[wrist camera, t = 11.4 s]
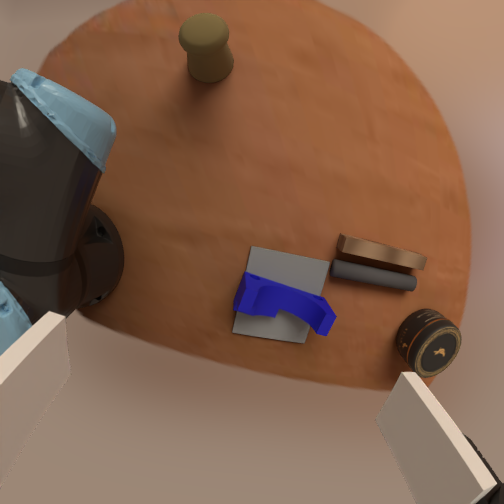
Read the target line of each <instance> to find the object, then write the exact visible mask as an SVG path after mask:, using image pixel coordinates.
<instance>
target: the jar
mask: <svg viewBox="0 0 504 504" xmlns="http://www.w3.org/2000/svg"><path fill="white" fill-rule="evenodd" d="M396 342H397V347H398V350H399V353H400V355H401V356H402V357H403V359H404V360H405V361H406V362H407V364H408V366H409V367H410V368H411V369H412V370H413V372H416V374H417V375H418V376H420V377H423V378H428V377H432V376H435V375H437V374H439V373H441V372H442V371H443V370H445V369H446V368H447V367H448V366H449V365H450V364H451V363H452V361H453V360H454V359H455V357H456V355H457V353H458V351H459V349H460V346H461V333H460V331H459V329H458V328H457V327H456V326H455V325H454V324H453V323H452V322H451V321H450V320H448V319H446V318H445V317H444V316H443V315H441V314H440V313H439V312H437V311H434V310H431V309H421V310H418V311H416V312H414V313H412V314H411V315H410V316H408V317H407V318H406V319H405V321H404V322H403V323H402V325H401V327H400V329H399V331H398V334H397V340H396Z"/></svg>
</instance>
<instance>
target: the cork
mask: <svg viewBox="0 0 504 504" xmlns="http://www.w3.org/2000/svg"><path fill="white" fill-rule="evenodd" d="M228 38H229V29H228V25H227V24H226V23H225V21H224V20H223V19H222V18H221V17H219V16H217V15H215V14H211V13H201V14H196V15H194V16H192V17H190V18H188V19H187V20H186V21H185V22H184V23H183V24H182V26H181V28H180V31H179V42H180V44H181V46H182V47H183V49H184V50H185V51H186V52H187V60H188V69H189V72H190V73H191V75H192V76H193V77H194V78H195V79H197V80H198V81H201V82H204V83H214V82H218V81H220V80H222V79H224V78H226V77H227V75H228V74H229V73H230V72H231V70H232V68H233V63H234V60H233V56H232V53H231V51H230V49H229V46H228V44H227V41H228Z"/></svg>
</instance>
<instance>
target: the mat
mask: <svg viewBox="0 0 504 504" xmlns="http://www.w3.org/2000/svg"><path fill="white" fill-rule="evenodd" d="M329 265H330V262H328V261H323V260H319V259H314V258H309V257H304V256H299V255H294V254H289V253H284V252H279V251H274V250H270V249H265V248H260V247H255V246H251V250H250V255H249V259H248V264H247V268H246V272H248V273H251V274H254V275H257V276H260V277H263V278H266V279H269V280H272V281H275V282H278V283H281V284H284V285H287V286H290V287H293V288H296V289H299V290H302V291H305V292H308V293H311V294H314V295H317V296H320V295H321V291H322V288H323V285H324V281H325V278H326V275H327V271H328V268H329ZM309 329H310V325H309V324H308V323H306V322H305V321H304V320H302V319H301V318H299V317H297V316H295V315H294V314H292V313H289V312H287V311H285V310H282V309H279V310H278V313H277V315H276V317H275V318H273V317H269V316H263V315H255V316H251V315H248V314H245V313H242V312H238V311H237V313H236V317H235V321H234V326H233V330H232V333H238V334H244V335H250V336H256V337H263V338H269V339H276V340H283V341H290V342H298V343H305V340H306V337H307V334H308V332H309Z"/></svg>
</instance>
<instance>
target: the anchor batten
mask: <svg viewBox="0 0 504 504" xmlns="http://www.w3.org/2000/svg"><path fill="white" fill-rule="evenodd" d="M337 248H338V249H339V250H340V251H342V252H345V253H349V254H354V255H358V256H363V257H367V258H371V259H376V260H380V261H385V262H389V263H393V264H398V265H402V266H406V267H411V268H415V269H419V270H424V266H425V263H426V260H427V257H425V256H423V255H421V254H419V253H416V252H412V251H408V250H405V249H401V248H397V247H393V246H389V245H385V244H381V243H377V242H373V241H369V240H365V239H361V238H357V237H353V236H349V235H345V234H341V233H340V237H339V240H338V244H337Z"/></svg>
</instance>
